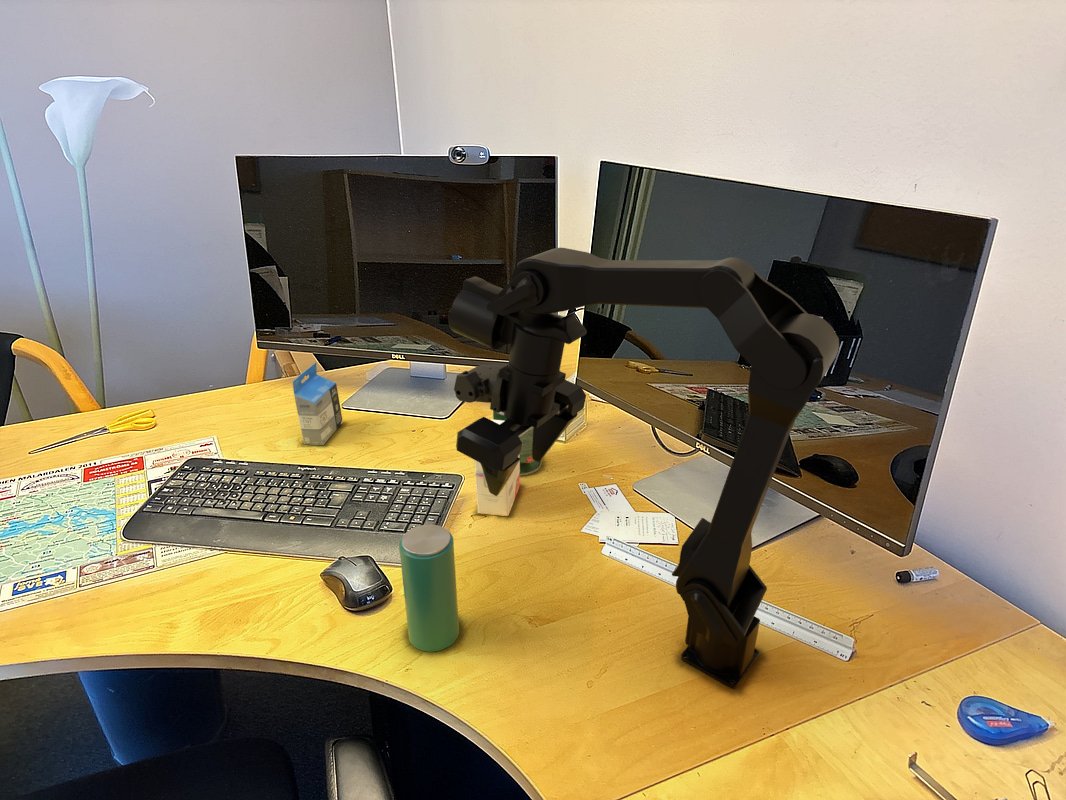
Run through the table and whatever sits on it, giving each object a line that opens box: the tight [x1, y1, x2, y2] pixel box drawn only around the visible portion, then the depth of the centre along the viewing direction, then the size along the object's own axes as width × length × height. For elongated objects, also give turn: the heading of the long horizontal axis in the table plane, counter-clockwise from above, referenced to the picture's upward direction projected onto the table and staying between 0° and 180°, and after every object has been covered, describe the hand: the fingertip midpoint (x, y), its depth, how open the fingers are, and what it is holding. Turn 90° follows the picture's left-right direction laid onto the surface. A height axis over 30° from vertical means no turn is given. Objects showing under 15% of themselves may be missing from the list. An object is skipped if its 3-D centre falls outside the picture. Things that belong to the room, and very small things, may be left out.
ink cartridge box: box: [474, 418, 521, 517], centre depth 100 cm, size 9×5×15 cm, turn 168°
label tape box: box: [291, 361, 344, 446], centre depth 120 cm, size 9×4×12 cm, turn 171°
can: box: [398, 524, 460, 653], centre depth 75 cm, size 6×6×13 cm
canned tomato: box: [492, 410, 542, 477], centre depth 110 cm, size 8×8×11 cm
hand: (515, 476), depth 82 cm, fingers open, 9 cm apart
